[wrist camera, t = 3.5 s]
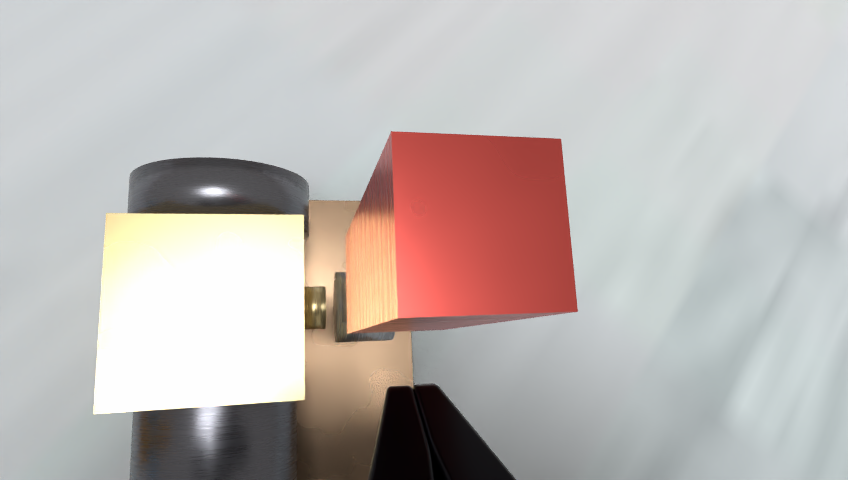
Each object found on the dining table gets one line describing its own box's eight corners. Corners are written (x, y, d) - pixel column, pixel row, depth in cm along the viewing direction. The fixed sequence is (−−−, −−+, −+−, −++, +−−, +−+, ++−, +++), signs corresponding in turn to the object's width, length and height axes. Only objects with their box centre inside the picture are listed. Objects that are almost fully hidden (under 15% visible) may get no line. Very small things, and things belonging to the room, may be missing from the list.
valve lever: (386, 340, 17) (578, 321, 5) (327, 343, 16) (398, 329, 5) (384, 275, 17) (560, 129, 6) (326, 277, 17) (391, 122, 5)
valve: (417, 617, 20) (481, 758, 13) (147, 661, 18) (54, 856, 11) (401, 207, 23) (446, 146, 16) (167, 204, 21) (102, 132, 14)
